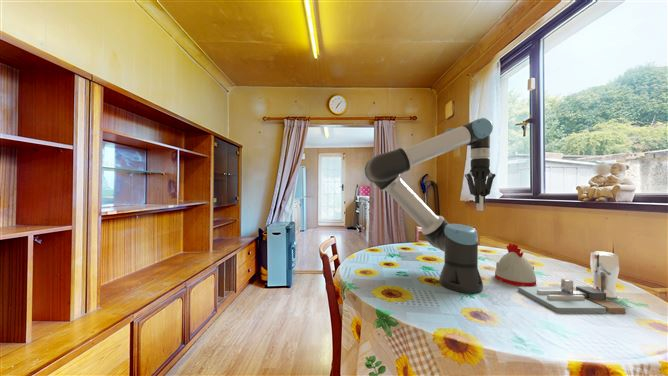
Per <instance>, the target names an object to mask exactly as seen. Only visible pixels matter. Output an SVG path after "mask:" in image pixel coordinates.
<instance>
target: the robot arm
mask: <svg viewBox="0 0 668 376" xmlns="http://www.w3.org/2000/svg"><path fill="white" fill-rule="evenodd" d="M493 130H494V126H493V123H492V121H491V120H490V119H488V118H486V117H482V118H478V119H475V120H473V121H471V122H468V123H466V124H463V125H461V126H458V127H456V128H455V127H454V128H453V127H452V128H446V130H445V132H444V133H443V132H442V133H441V134H439V135H436V136H434V137H431V138H428V139H425V140H423V141H420V142H418V143H416V144H413V145H411V146H408V147H406V148H403V147H399V148H397V149H393V150H391V151H390V150H389V151H386V152H381V153H378V154H376V155H375V156H373V157H371V158H370V159H368V161H367V162H366V164H365V167H364V175H365V178H367V180H368V181H370V182H371V183H373V184H374V185H375V186H376V188H378V190H380V191H382V192H383V191H385V192H387V193H388V195H390V197H391V198H393V200H394V201H395V202H396V203H397V204H398V205H399V206H400V207H401V208H402V209H403V210H404V211H405V212H406V213H407V214H408V215H409V216H410V217H411V218H412V220H414V222H416V223H417V224H418V226H419V227H420V228H421V233H422V234H423V236H425V239H426V241H427V242H428V243H429V244H430V245H431V246H432V247H433V248H436V249H439V250H440V251H442V252H444V253H443V254H444V259H443V261H444V262H443V263H444V264H443V267H442V269H441V272H440V274H439V284H440V285H442V286H443V287H444V288H446V289H449V290H451V291H454V292H459V293H464V294H475V293H481V292H483V290H484V283H483V279H482V277H481V274H480V271H479V269H478V262H479V259H478V255H479V254H478V253H479V247H478V245H479V244H478V243H479V237H478V235H479V234H478V231H477V229H476V228H474V227H472V226H470V225H464V224H461V223H450V222H448V221H447V220H446V218H445V217H444V216H442V215H437V214H436V213H435V212H434V211H433V210H432V209H431V208H430V207H429V206H428V205H427V204H426V203H425V202H424V200H423V199H421V197H420V196H419V195H417V193H416V192H415V191H414V190H413V189H412V188H411V187H410V186H409V185H408V184H407V183H406V182H405V181H404V180H403V179H402V178H401V175H402V174H404V173H407V172H408V171H410V170H411V168H412V167H414V166H417V165H419V164H422V163H424V162H426V161H429V160H431V159H433V158H436V157H439V156H442V155H444V154H446V153H448V152H452V151H453V150H455V149H459V148H461V147H463V146H470V157H469V158H470V170H469V172H468V173H465V174H464V177H465V178H466V180H467V184H468V185H467V186H468V190H469V193H470V195H472V196H473V197H474V203H475V204H476V211H479V212H484V204H485V203H486V197H487V196H488V195H490V194H491V191H492V186H493V182H494V179H495V177H496V173H493V172H491V168H490V166H491V162H490V161H491V160H490V158H491V157H490V156H491V152H490V151H491V134H492V132H493Z"/></svg>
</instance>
